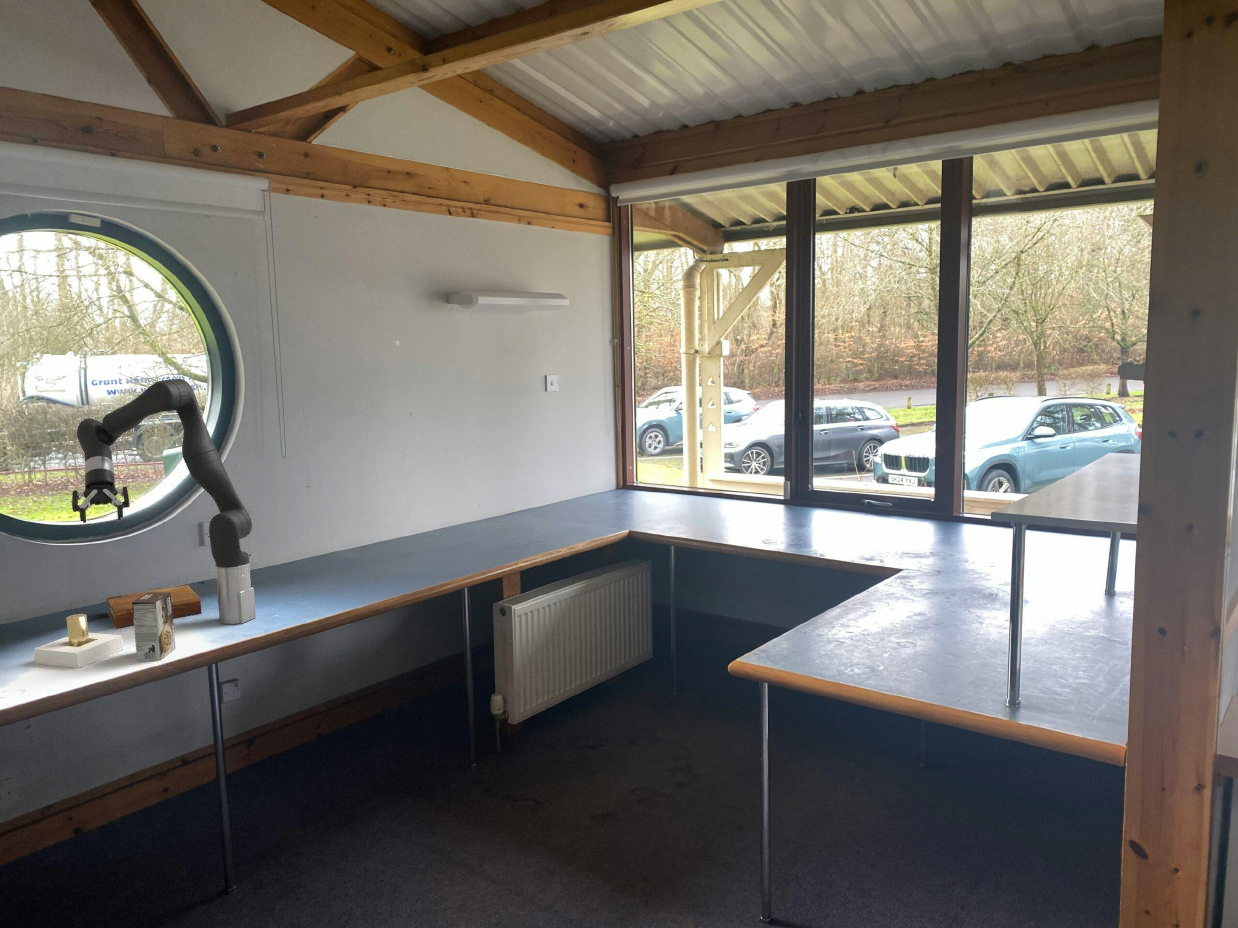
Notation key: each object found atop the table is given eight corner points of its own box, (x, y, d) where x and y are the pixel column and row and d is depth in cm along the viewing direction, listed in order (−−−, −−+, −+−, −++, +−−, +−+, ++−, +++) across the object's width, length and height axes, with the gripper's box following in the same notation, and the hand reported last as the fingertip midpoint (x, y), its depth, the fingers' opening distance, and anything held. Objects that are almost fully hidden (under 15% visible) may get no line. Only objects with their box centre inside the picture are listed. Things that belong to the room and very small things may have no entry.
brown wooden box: (116, 631, 253) (114, 612, 252) (107, 615, 267) (106, 597, 267) (201, 615, 266) (200, 597, 266) (189, 601, 281) (187, 584, 280)
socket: (122, 649, 234) (121, 635, 234) (78, 668, 221) (77, 653, 221) (81, 645, 238) (80, 631, 238) (35, 663, 225) (34, 648, 224)
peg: (94, 654, 231) (90, 614, 230) (79, 660, 227) (75, 619, 226) (80, 652, 233) (77, 613, 231) (66, 658, 228) (62, 618, 227)
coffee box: (151, 649, 235) (147, 591, 233) (176, 648, 235) (171, 591, 233) (135, 661, 226) (130, 601, 224) (161, 660, 226) (156, 600, 224)
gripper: (69, 469, 249) (71, 514, 241) (126, 465, 256) (129, 509, 248) (72, 485, 255) (74, 530, 246) (127, 481, 262) (131, 524, 253)
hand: (102, 519), depth 247 cm, fingers open, 8 cm apart
